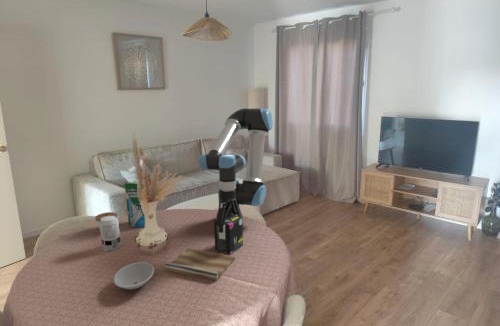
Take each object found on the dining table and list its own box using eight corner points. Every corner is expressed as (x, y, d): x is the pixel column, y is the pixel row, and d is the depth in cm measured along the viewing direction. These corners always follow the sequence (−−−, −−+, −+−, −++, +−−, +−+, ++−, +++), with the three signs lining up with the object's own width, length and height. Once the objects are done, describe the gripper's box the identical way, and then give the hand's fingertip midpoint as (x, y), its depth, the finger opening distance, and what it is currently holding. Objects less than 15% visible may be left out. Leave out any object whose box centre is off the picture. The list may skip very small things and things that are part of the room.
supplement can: (98, 250, 157) (95, 220, 153) (111, 242, 164) (108, 214, 161) (112, 253, 154) (108, 222, 150) (124, 245, 161) (121, 216, 158)
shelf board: (188, 250, 155) (187, 243, 155) (235, 259, 147) (235, 252, 146) (165, 269, 139) (164, 262, 138) (216, 280, 130) (216, 273, 130)
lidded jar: (103, 224, 186) (102, 209, 184) (121, 225, 184) (120, 209, 182) (92, 232, 175) (90, 216, 173) (111, 233, 174) (109, 217, 172)
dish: (124, 273, 137) (123, 262, 136) (159, 272, 137) (158, 261, 136) (107, 300, 119) (106, 287, 118) (147, 299, 120) (146, 286, 119)
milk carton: (151, 220, 190) (147, 178, 185) (144, 227, 182) (140, 183, 176) (136, 220, 191) (132, 178, 186) (128, 226, 183) (124, 183, 177)
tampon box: (230, 255, 151) (229, 225, 147) (214, 250, 155) (213, 220, 152) (243, 245, 160) (243, 216, 156) (228, 241, 164) (227, 213, 161)
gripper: (231, 181, 164) (232, 222, 168) (207, 196, 141) (208, 242, 145) (245, 183, 161) (245, 224, 165) (223, 197, 138) (224, 245, 143)
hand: (228, 232), depth 155 cm, fingers open, 13 cm apart
